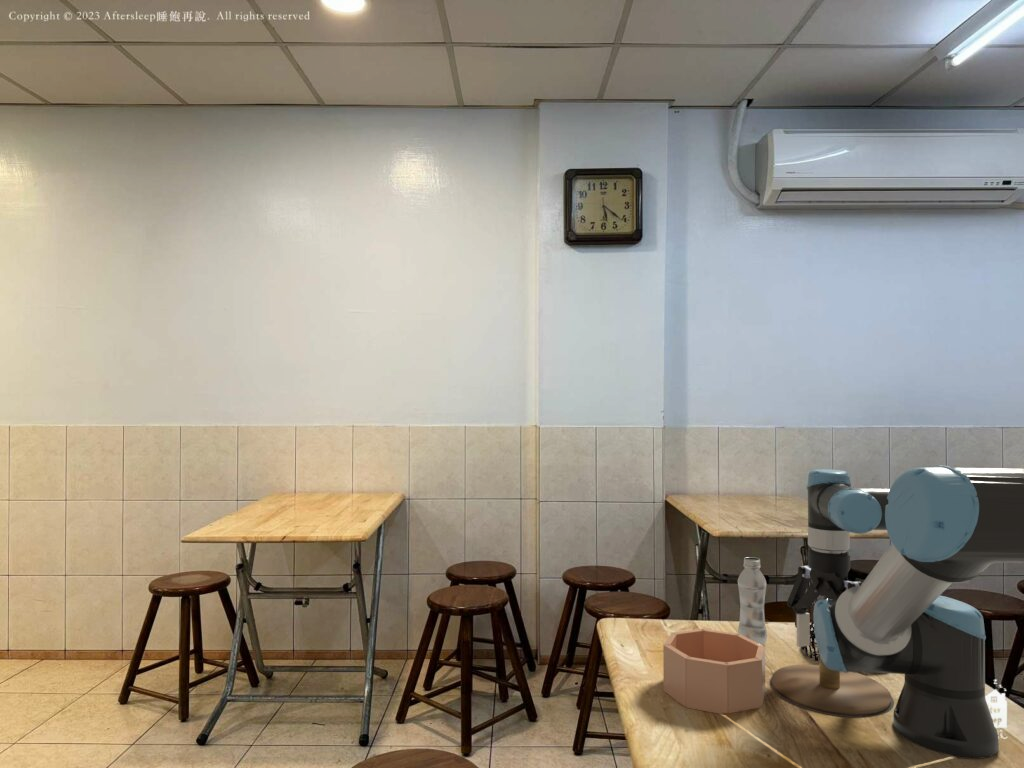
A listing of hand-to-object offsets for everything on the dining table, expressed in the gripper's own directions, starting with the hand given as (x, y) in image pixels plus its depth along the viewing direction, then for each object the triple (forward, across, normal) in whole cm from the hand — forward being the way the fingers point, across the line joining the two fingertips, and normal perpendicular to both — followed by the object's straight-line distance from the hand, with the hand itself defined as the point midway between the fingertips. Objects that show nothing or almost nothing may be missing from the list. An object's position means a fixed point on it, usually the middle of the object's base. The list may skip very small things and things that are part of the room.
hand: (829, 658), depth 134 cm
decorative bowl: (+7, +13, -19) cm, 24 cm away
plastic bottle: (+7, +26, -3) cm, 27 cm away
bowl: (+7, +8, +21) cm, 23 cm away
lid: (+6, 0, 0) cm, 6 cm away
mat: (+7, 0, 0) cm, 7 cm away
